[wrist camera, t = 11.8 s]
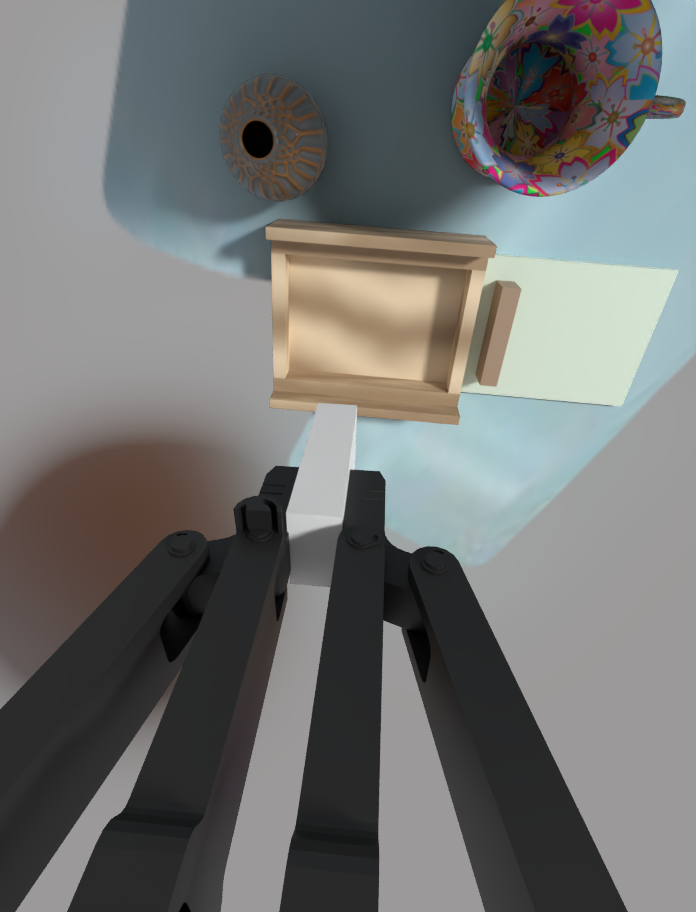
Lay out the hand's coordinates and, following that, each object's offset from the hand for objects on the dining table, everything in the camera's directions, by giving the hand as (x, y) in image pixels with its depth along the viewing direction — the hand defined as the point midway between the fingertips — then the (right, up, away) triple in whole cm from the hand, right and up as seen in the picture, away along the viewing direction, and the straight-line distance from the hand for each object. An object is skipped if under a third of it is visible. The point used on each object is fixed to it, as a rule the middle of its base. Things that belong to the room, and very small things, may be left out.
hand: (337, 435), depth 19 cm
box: (+3, +11, +22) cm, 25 cm away
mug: (+13, +23, +14) cm, 30 cm away
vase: (-4, +22, +16) cm, 27 cm away
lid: (+18, +10, +22) cm, 30 cm away
